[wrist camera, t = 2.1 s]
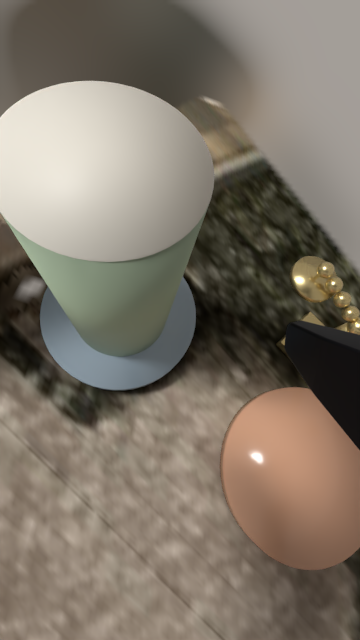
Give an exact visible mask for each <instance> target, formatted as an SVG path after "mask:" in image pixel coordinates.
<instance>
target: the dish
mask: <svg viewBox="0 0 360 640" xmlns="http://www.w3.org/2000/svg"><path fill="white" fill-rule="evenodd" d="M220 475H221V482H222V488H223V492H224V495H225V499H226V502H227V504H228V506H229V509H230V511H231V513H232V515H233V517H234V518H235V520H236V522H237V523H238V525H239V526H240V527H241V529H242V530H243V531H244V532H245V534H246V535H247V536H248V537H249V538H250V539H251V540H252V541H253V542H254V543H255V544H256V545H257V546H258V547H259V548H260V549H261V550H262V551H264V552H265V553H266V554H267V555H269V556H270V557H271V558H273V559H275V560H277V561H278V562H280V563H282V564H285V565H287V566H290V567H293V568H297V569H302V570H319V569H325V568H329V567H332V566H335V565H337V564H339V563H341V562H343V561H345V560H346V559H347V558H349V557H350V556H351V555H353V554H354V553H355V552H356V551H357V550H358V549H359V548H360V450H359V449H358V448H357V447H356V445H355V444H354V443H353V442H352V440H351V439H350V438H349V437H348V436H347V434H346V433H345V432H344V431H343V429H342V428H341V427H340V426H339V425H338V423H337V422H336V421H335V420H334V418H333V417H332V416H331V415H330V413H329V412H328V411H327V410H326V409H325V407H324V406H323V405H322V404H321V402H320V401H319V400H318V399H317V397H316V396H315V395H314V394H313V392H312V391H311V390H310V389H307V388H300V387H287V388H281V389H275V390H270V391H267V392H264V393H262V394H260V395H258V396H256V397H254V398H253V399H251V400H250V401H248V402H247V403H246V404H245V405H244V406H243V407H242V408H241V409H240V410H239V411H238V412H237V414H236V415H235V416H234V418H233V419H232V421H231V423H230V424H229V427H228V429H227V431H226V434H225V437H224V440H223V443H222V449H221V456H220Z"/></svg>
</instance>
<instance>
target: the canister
mask: <svg viewBox="0 0 360 640" xmlns="http://www.w3.org/2000/svg"><path fill="white" fill-rule="evenodd" d="M213 187H214V167H213V163H212V158H211V155H210V152H209V150H208V147H207V145H206V143H205V141H204V139H203V138H202V136H201V134H200V133H199V132H198V130H197V129H196V128H195V126H194V125H193V124H192V123H191V122H190V121H189V120H188V119H187V118H186V117H185V116H184V115H183V114H182V113H181V112H179V111H178V110H177V109H176V108H174V107H173V106H171V105H170V104H168V103H167V102H165V101H163V100H162V99H160V98H158V97H156V96H154V95H152V94H150V93H147V92H145V91H142V90H139V89H136V88H133V87H130V86H126V85H122V84H117V83H110V82H102V81H77V82H70V83H62V84H58V85H54V86H50V87H47V88H45V89H41V90H39V91H36V92H34V93H32V94H30V95H28V96H26V97H24V98H23V99H21V100H20V101H18V102H17V103H15V104H14V105H13V106H12V107H10V108H9V109H8V110H7V111H6V112H5V113H4V114H3V115H2V116H1V118H0V213H1V214H2V216H3V218H4V219H5V221H6V222H7V224H8V225H9V227H10V228H11V230H12V231H13V233H14V235H15V236H16V238H17V239H18V241H19V242H20V244H21V245H22V247H23V248H24V250H25V252H26V253H27V255H28V256H29V258H30V259H31V261H32V262H33V264H34V265H35V267H36V269H37V270H38V272H39V273H40V275H41V276H42V278H43V279H44V281H45V282H46V284H47V286H48V287H49V289H50V290H51V292H52V293H53V295H54V296H55V298H56V299H57V301H58V303H59V304H60V306H61V307H62V309H63V310H64V312H65V313H66V315H67V316H68V318H69V320H70V321H71V323H72V324H73V326H74V327H75V329H76V330H77V332H78V333H79V335H80V336H81V338H82V339H83V340H84V341H85V342H86V344H87V345H89V346H90V347H91V348H93V349H94V350H96V351H98V352H100V353H103V354H106V355H109V356H116V357H123V356H130V355H134V354H137V353H140V352H142V351H144V350H145V349H147V348H148V347H150V346H151V345H152V344H153V343H154V342H155V341H156V340H157V339H158V338H159V336H160V335H161V333H162V331H163V329H164V326H165V324H166V321H167V318H168V315H169V313H170V310H171V307H172V304H173V302H174V299H175V296H176V293H177V291H178V288H179V285H180V282H181V280H182V277H183V274H184V271H185V269H186V266H187V263H188V260H189V258H190V255H191V252H192V249H193V247H194V244H195V241H196V238H197V236H198V233H199V230H200V227H201V225H202V222H203V219H204V216H205V214H206V211H207V208H208V205H209V203H210V200H211V196H212V192H213Z"/></svg>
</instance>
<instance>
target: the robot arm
mask: <svg viewBox="0 0 360 640" xmlns="http://www.w3.org/2000/svg"><path fill="white" fill-rule="evenodd" d="M284 346H285V351H286V353H287V355H288V356H289V358H290V359H291V361H292V362H293V364H294V366H295V367H296V369H297V370H298V372H299V373H300V375H301V376H302V378H303V379H304V381H305V382H306V384H307V385H308V387H309V388H310V390H311V391H312V392H313V394H314V395H315V396H316V397H317V399H318V400H319V401H320V402H321V404H322V405H323V406H324V407H325V409H326V410H327V411H328V412H329V413H330V415H331V416H332V417H333V418H334V420H335V421H336V422H337V423H338V425H339V426H340V427H341V428H342V429H343V431H344V432H345V433H346V434H347V436H348V437H349V438H350V439H351V440H352V442H353V443H354V444H355V445H356V447H357V448H358V449H359V450H360V335H358V334H354V333H350V332H346V331H342V330H338V329H334V328H330V327H326V326H322V325H318V324H314V323H310V322H306V321H296V322H291V323H289V324H288V325H287V329H286V337H285V345H284Z"/></svg>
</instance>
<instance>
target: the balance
mask: <svg viewBox="0 0 360 640" xmlns="http://www.w3.org/2000/svg"><path fill="white" fill-rule="evenodd" d="M290 282H291V285H292V287H293V289H294V290H295V292H296V293H297V294H298V295H299V296H300V297H302V298H303V299H305V300H307V301H310V302H323V301H325V300H327V299H328V298H330V297H332V296H333V295H334V294H335V293H337V292H338V293H337V294H336V295H335V296H334V298H333V302H334V304H335V305H336V306H338V307H341V308H342V307H345V308H344V309H343V310H342V313H341V315H342V317H343V319H344V320H346V321H349V322H347V323H345V324H343V325H341V326H338V327H336V328H334V329H338V330H342V331H346V332H350V333H354V334H358V335H360V317H359V314H360V313H359V310H358V309H357V308H356V307H354V306H348V305H349V304H350V303H351V296H350V294H348V293H347V292H339V291H340V290H341V289H342V288H343V282H342V280H341V279H340V278H338V277H337V275H336V273H335V268H334V266H333V264H331V263H329V262H326V261H325V260H323V259H321V258H318V257H314V256H307V257H303V258H301V259H300V260H298V261H297V262H296V263H295V264H294V265H293V267H292V268H291V271H290ZM346 306H347V307H346ZM299 321H306V322H310V323H314V324H318V325H322V326H324V325H323V324H322V323H321V322H320V321H319V320H318V319H317V318H316V317H315V316H314V315H313V314H312V313H311V312H309V313H307V314H306V315H304V316H303V317H302V318H301V319H300V320H299ZM285 337H286V334H285V336H284V337H283V338H282V339H281V340H280V341H279V342H278V343H277V344H276V346H277V347H278V348H279V349H280V350H281V351H282V352H283V353H284V354H285V355H286V356H287V357H288V358H289V356H288V355H287V353H286V351H285V346H284V345H285ZM289 359H290V358H289ZM290 360H291V359H290Z"/></svg>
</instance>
